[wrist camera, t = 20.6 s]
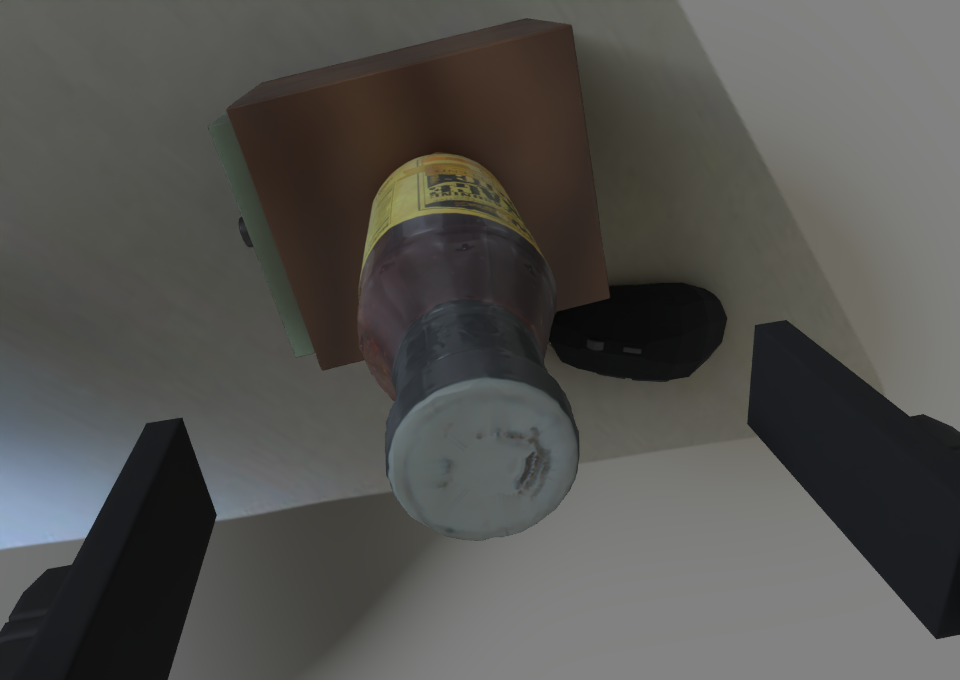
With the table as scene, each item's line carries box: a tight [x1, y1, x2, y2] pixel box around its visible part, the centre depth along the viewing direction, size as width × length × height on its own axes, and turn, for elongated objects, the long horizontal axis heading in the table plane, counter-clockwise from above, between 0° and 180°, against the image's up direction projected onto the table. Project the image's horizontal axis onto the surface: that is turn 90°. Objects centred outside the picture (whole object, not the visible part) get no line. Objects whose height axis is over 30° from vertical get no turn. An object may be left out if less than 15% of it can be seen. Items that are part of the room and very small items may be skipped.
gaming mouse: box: [549, 283, 727, 382], centre depth 45 cm, size 6×15×4 cm, turn 87°
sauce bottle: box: [357, 152, 579, 541], centre depth 23 cm, size 6×6×20 cm
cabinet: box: [226, 18, 610, 370], centre depth 36 cm, size 15×13×10 cm
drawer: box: [208, 112, 315, 358], centre depth 36 cm, size 15×12×8 cm
